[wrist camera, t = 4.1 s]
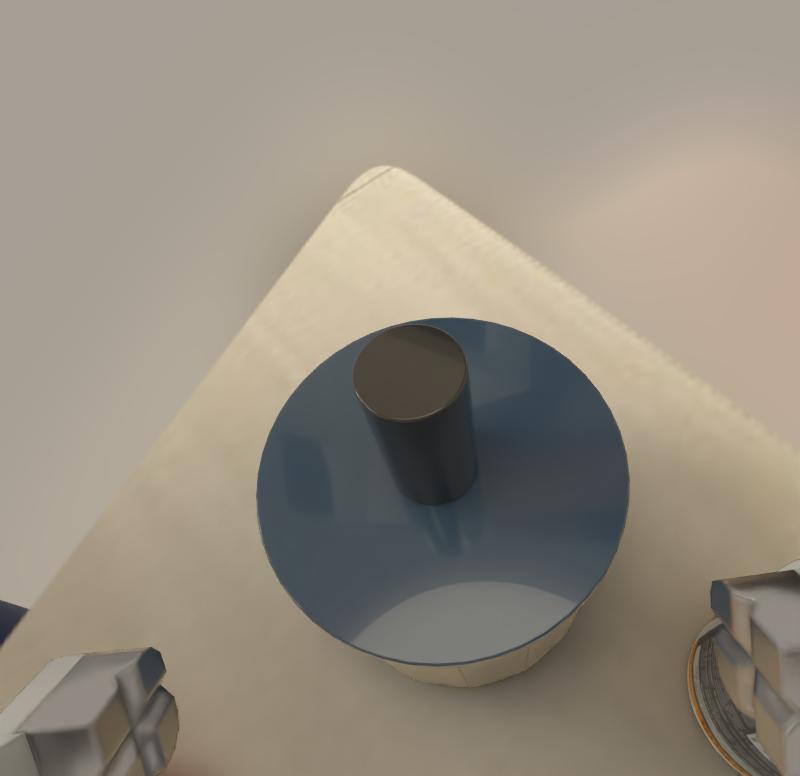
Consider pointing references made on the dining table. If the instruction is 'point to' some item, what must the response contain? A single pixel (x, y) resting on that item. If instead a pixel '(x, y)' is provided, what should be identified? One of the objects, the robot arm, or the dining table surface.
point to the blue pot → (488, 665)
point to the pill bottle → (724, 708)
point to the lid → (443, 493)
